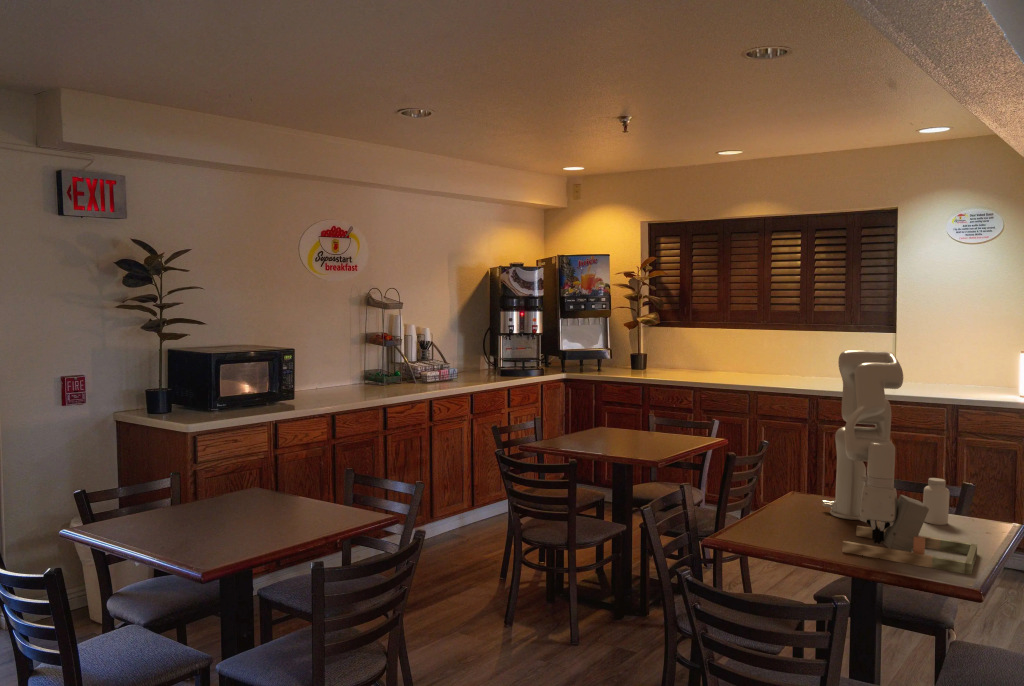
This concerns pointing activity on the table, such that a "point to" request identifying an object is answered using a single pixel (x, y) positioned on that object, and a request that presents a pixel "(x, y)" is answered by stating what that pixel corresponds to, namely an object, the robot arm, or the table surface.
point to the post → (919, 545)
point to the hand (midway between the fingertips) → (877, 542)
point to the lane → (915, 557)
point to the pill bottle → (936, 501)
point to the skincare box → (905, 524)
